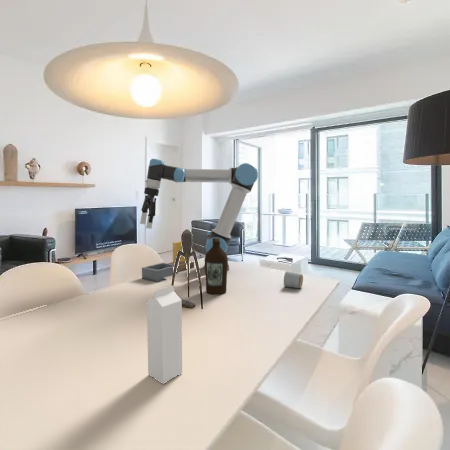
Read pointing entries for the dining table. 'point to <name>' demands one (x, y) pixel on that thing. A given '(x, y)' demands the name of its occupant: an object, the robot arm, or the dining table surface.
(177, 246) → the yellow rectangular slab
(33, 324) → the dining table surface
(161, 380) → the milk
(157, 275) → the bin
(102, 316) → the dining table surface
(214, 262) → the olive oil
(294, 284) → the grey cylinder
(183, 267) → the dispenser
